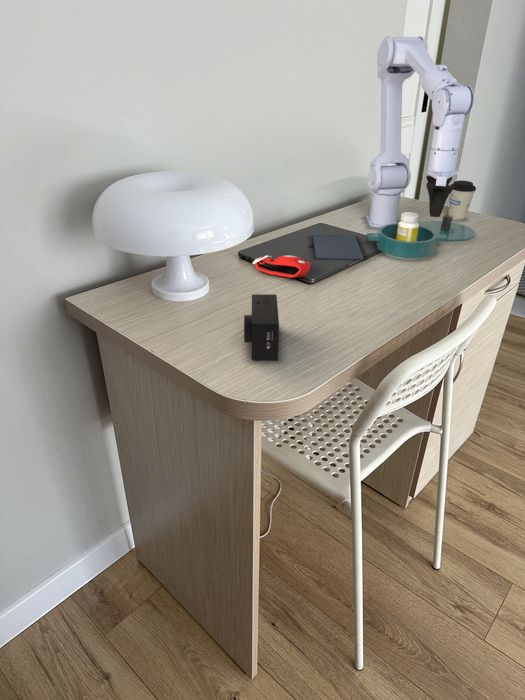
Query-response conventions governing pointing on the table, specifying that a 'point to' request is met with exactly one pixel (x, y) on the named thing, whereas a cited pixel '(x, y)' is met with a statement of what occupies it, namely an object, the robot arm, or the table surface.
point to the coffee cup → (460, 199)
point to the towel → (337, 247)
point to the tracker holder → (286, 261)
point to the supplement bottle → (408, 227)
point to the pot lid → (450, 229)
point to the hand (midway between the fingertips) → (434, 212)
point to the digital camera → (263, 327)
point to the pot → (404, 248)
